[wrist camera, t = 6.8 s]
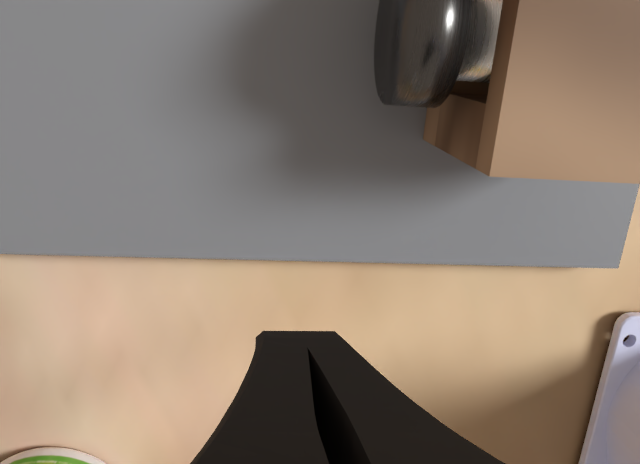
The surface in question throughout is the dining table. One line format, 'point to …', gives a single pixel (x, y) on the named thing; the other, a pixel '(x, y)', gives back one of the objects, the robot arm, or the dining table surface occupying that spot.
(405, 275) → the dining table surface
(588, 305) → the dining table surface
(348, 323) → the dining table surface
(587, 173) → the bearing block
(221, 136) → the base board
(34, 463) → the supplement bottle
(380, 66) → the shaft
